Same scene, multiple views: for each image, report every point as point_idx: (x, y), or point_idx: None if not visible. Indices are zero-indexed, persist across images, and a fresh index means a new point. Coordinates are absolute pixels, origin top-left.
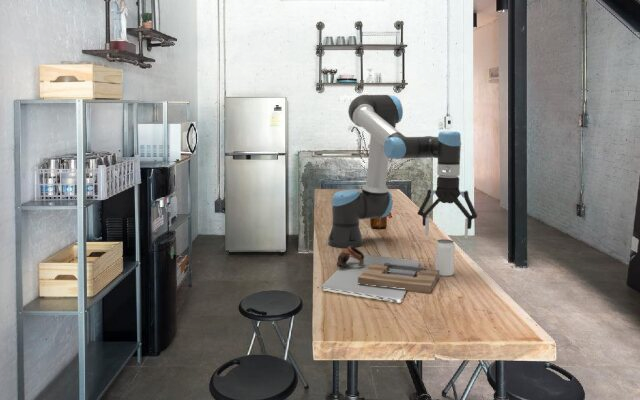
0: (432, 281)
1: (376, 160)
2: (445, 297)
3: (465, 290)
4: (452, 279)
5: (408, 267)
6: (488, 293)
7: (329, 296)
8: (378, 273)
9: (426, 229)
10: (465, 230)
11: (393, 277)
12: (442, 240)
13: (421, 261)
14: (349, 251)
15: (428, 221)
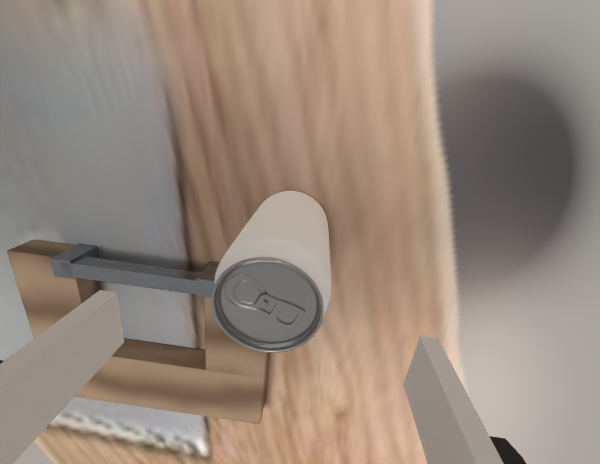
0: (260, 394)
1: None
2: (304, 419)
3: (360, 370)
4: None
5: (152, 286)
6: None
7: (57, 443)
8: None
9: (78, 382)
10: (430, 454)
11: (142, 379)
12: (242, 261)
13: (164, 36)
14: None
15: (3, 417)
